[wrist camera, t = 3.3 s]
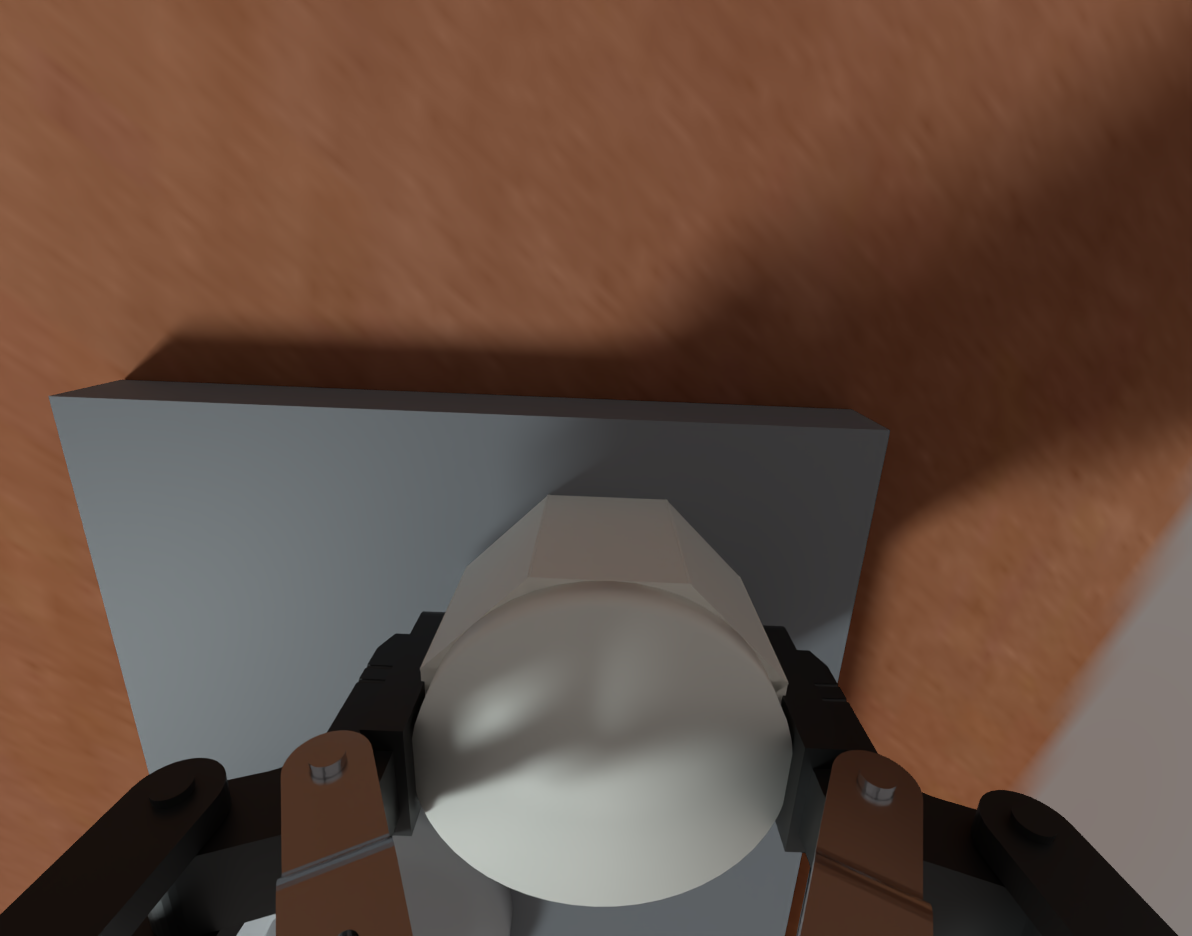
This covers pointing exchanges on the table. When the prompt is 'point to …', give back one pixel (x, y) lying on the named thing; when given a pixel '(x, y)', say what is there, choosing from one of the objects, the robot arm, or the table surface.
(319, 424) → the threaded post stand
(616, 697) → the cap
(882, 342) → the table surface
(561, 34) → the table surface
